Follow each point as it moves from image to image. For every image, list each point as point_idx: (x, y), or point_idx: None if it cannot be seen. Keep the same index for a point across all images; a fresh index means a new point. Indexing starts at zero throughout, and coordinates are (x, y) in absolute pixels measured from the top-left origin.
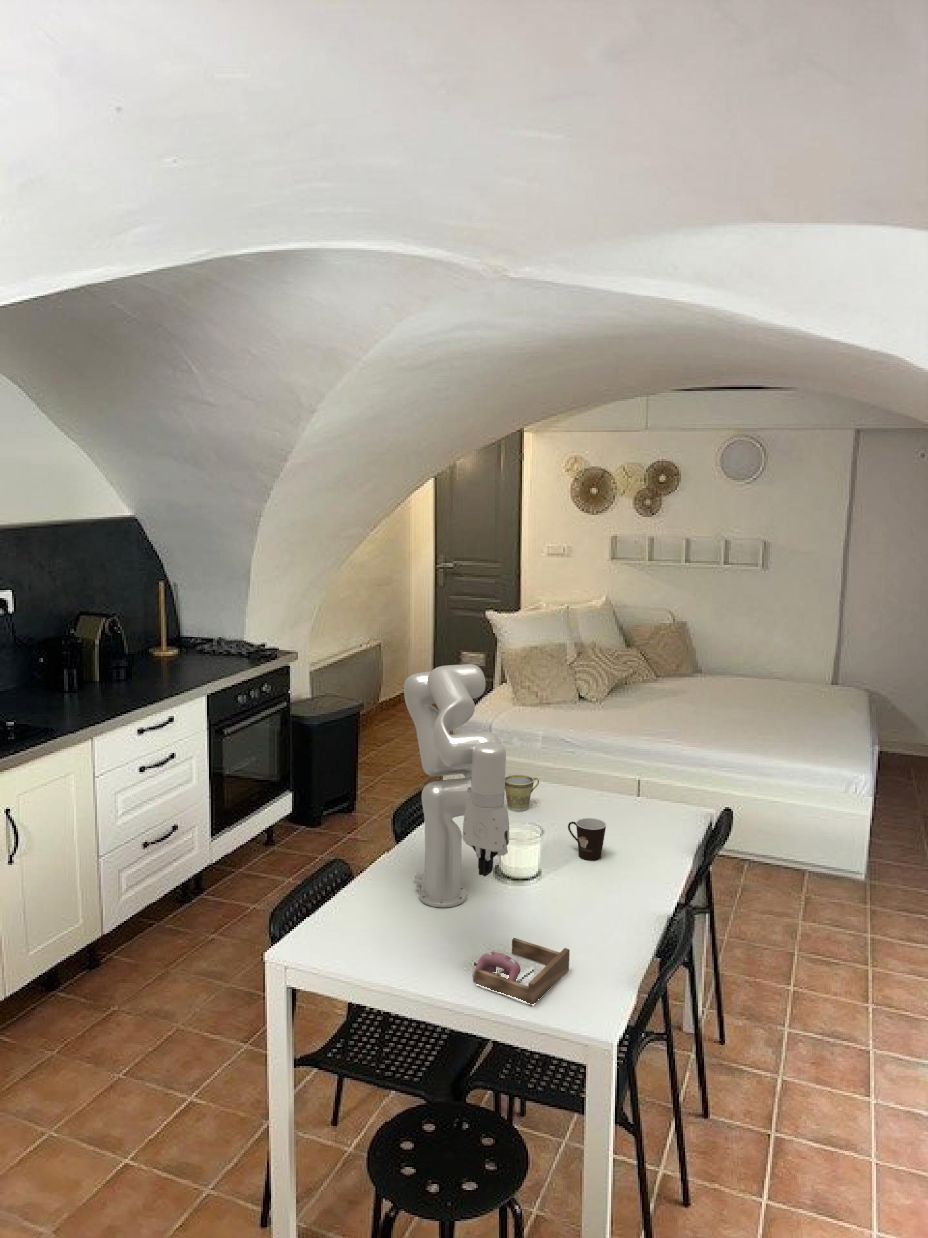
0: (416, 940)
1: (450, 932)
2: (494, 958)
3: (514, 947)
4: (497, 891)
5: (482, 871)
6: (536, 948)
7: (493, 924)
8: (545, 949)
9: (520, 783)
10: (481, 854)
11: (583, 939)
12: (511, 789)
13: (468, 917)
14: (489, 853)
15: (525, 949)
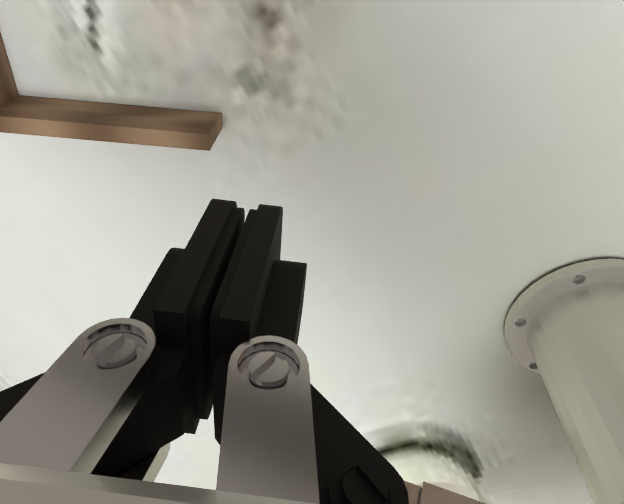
0: (615, 15)
1: (489, 141)
2: None
3: (203, 122)
4: (429, 391)
5: (234, 228)
6: (99, 123)
7: (366, 248)
8: (63, 128)
9: None
10: (229, 392)
11: (96, 281)
12: None
13: (460, 251)
14: (30, 417)
15: (154, 120)
